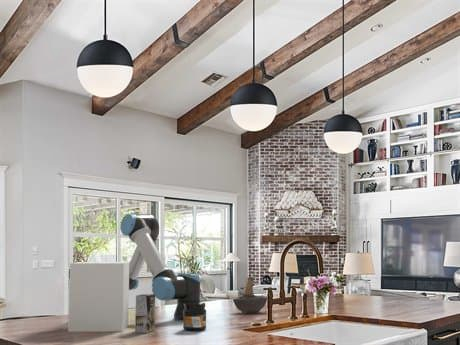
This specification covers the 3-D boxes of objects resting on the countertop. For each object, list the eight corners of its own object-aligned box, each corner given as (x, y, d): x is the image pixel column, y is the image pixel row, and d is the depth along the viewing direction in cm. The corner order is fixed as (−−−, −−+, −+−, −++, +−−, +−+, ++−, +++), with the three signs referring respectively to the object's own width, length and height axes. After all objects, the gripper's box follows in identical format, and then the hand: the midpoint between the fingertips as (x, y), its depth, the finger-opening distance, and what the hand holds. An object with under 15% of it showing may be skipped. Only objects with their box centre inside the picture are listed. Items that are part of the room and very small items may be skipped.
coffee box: (148, 333, 272) (149, 295, 274) (134, 332, 274) (135, 295, 276) (155, 330, 281) (155, 293, 283) (141, 329, 283) (142, 293, 284)
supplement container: (197, 332, 275) (197, 304, 276) (178, 330, 281) (178, 303, 282) (210, 329, 284) (210, 302, 285) (191, 327, 290) (192, 301, 291)
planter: (269, 312, 354) (268, 276, 356) (254, 315, 340) (254, 277, 342) (246, 310, 362) (246, 275, 364) (231, 313, 348) (231, 277, 350)
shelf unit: (128, 325, 298) (129, 261, 301) (122, 331, 277) (123, 263, 280) (77, 325, 297) (79, 261, 300) (68, 331, 276) (70, 263, 280)
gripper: (137, 298, 332) (134, 280, 315) (90, 297, 331) (84, 280, 314) (138, 285, 336) (135, 267, 319) (91, 284, 335) (86, 266, 318)
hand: (109, 273), depth 316 cm, fingers open, 13 cm apart
